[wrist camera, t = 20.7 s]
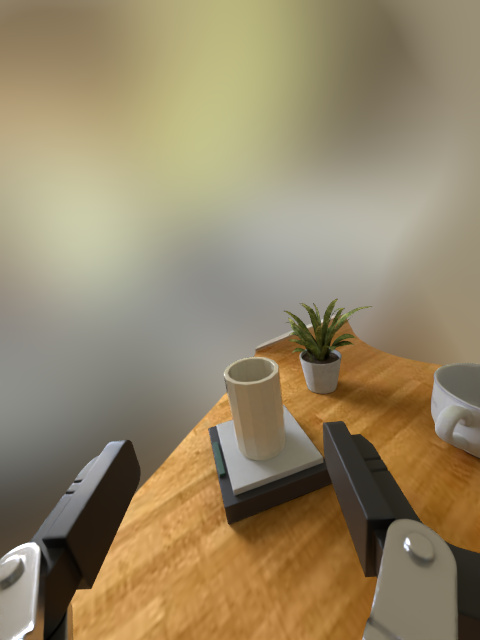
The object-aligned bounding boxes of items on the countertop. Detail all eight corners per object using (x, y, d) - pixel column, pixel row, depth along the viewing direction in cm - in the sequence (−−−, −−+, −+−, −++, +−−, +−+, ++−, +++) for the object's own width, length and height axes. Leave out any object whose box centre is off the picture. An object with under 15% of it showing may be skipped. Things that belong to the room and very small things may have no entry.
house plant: (359, 364, 50) (358, 286, 46) (384, 407, 38) (387, 304, 33) (288, 367, 54) (281, 294, 49) (289, 408, 41) (280, 314, 36)
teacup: (474, 405, 35) (482, 355, 33) (589, 468, 25) (612, 401, 23) (387, 429, 34) (389, 378, 31) (474, 507, 23) (486, 439, 21)
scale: (228, 525, 25) (223, 502, 24) (211, 441, 36) (207, 423, 35) (332, 484, 27) (331, 461, 26) (285, 417, 39) (283, 400, 38)
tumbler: (244, 468, 27) (230, 390, 24) (232, 430, 33) (219, 364, 30) (295, 450, 28) (288, 375, 26) (274, 417, 34) (266, 352, 32)
